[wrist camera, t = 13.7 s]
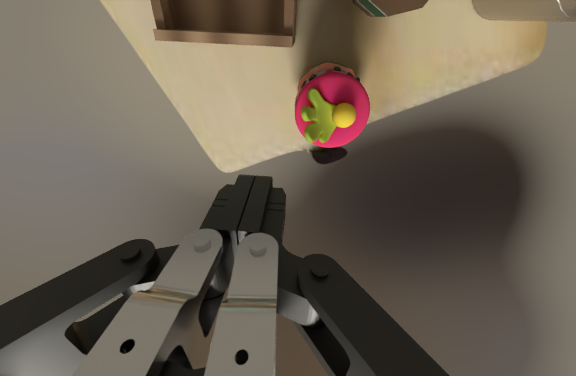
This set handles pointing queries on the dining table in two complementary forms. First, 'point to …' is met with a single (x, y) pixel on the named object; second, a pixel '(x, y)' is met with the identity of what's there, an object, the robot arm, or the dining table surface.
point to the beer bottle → (388, 6)
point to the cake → (331, 105)
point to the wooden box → (226, 21)
